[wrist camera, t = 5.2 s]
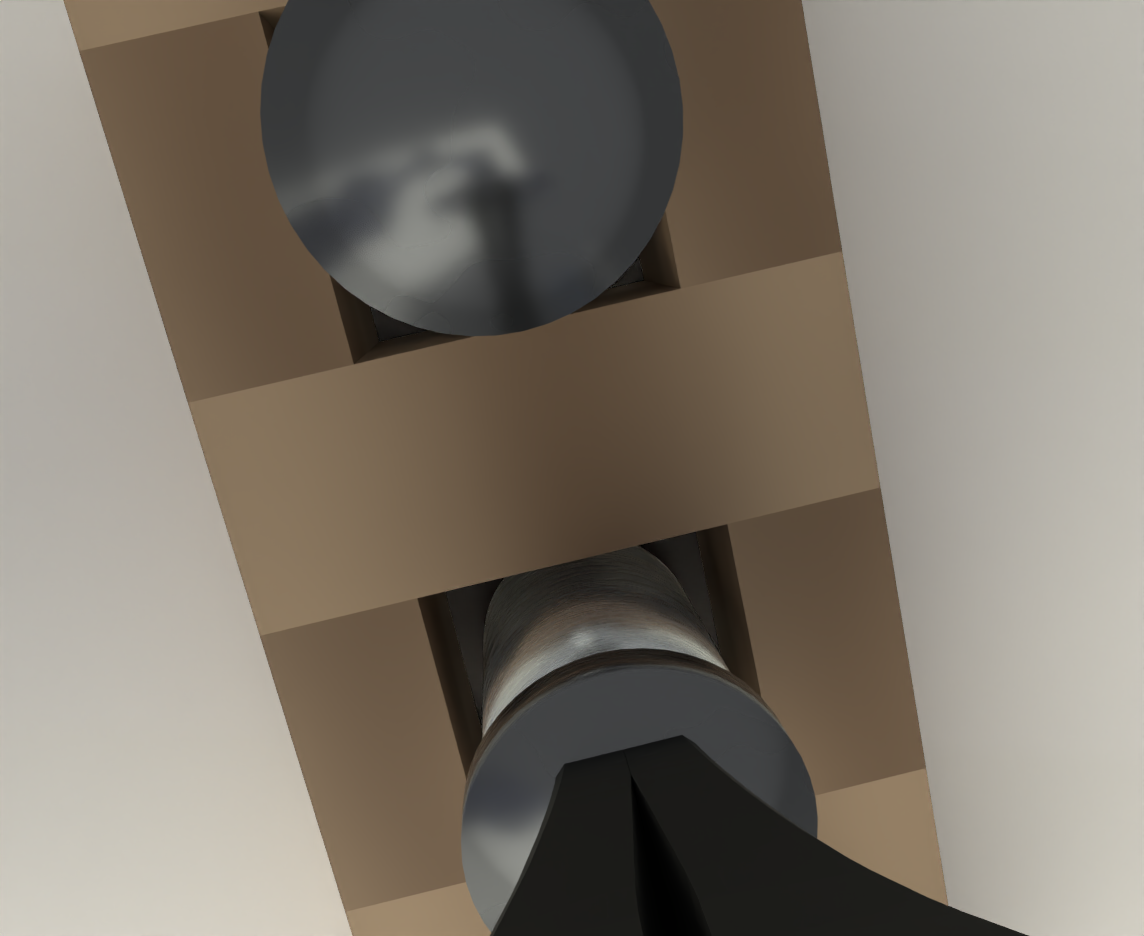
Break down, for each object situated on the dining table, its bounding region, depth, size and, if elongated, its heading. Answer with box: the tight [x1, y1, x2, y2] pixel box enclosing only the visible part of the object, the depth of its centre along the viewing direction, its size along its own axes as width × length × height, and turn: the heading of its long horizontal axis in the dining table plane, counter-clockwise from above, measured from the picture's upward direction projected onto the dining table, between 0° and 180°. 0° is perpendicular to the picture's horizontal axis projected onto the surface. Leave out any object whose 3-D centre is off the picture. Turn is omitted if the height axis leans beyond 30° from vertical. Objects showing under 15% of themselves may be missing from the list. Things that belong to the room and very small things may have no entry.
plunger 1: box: [260, 0, 683, 336], centre depth 12 cm, size 4×4×6 cm
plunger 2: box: [461, 546, 818, 932], centre depth 13 cm, size 4×4×6 cm
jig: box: [64, 0, 948, 936], centre depth 15 cm, size 8×20×3 cm, turn 13°
